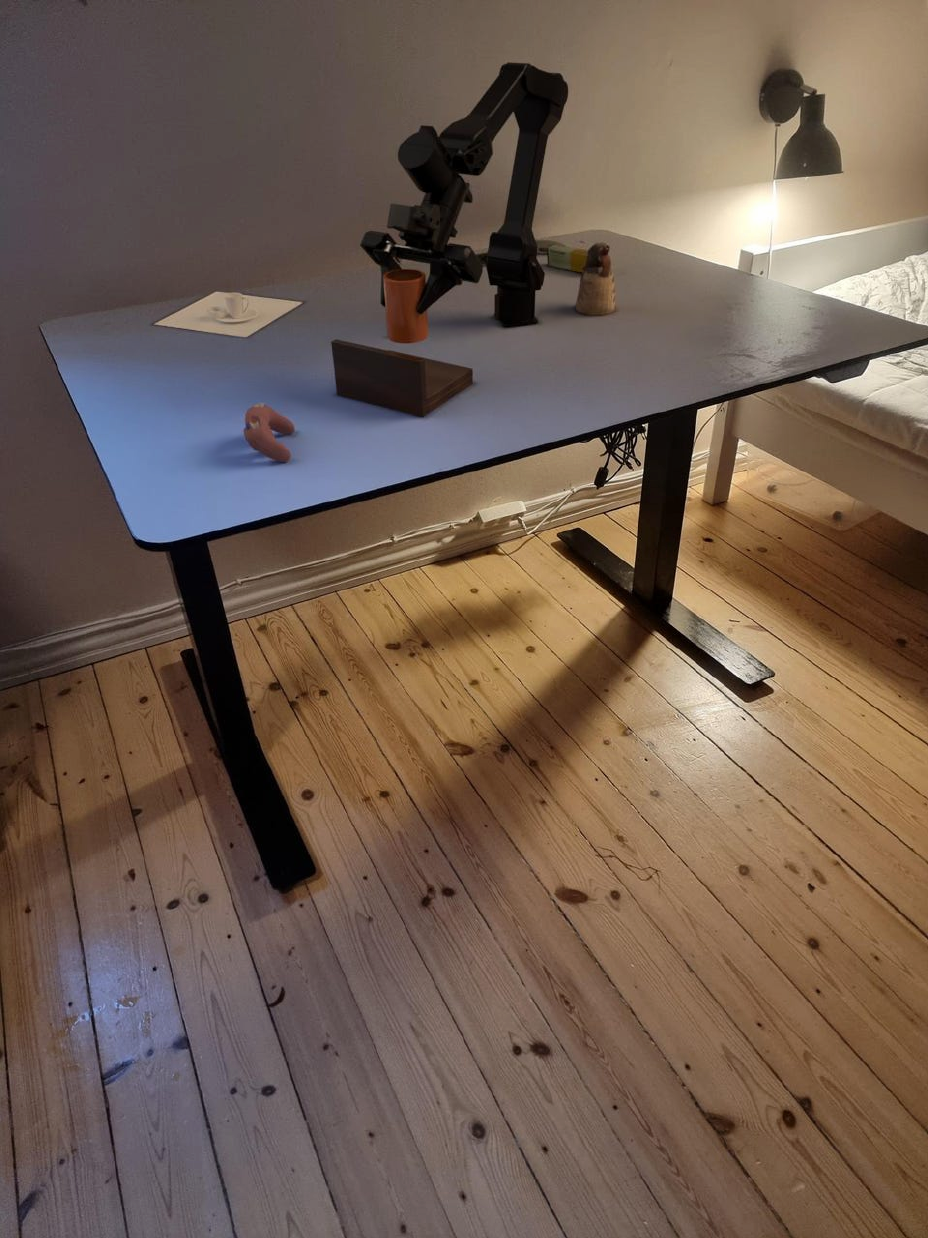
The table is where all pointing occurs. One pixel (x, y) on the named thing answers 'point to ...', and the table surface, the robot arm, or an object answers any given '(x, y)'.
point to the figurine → (597, 283)
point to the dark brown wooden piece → (396, 378)
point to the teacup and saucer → (229, 314)
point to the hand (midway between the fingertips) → (400, 308)
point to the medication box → (566, 257)
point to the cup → (404, 305)
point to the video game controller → (267, 431)
